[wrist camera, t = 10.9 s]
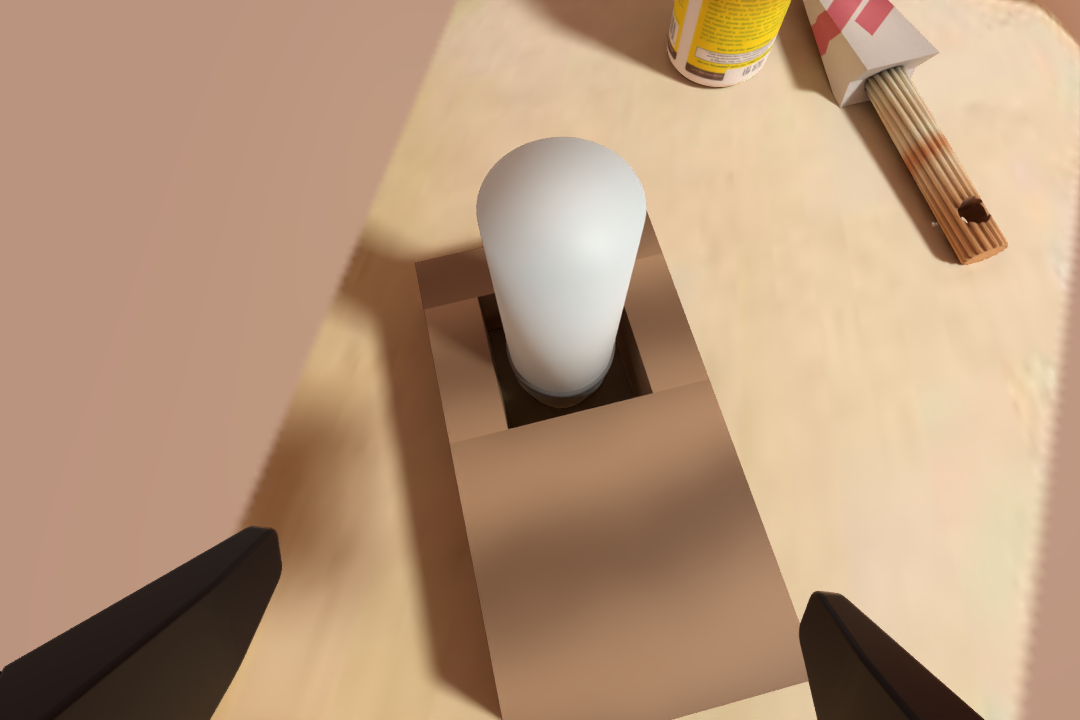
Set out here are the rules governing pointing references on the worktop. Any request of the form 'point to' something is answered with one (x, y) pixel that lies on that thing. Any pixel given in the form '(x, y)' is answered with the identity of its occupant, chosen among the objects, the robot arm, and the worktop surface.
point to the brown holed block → (609, 520)
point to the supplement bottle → (723, 38)
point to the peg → (561, 260)
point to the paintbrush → (902, 110)
